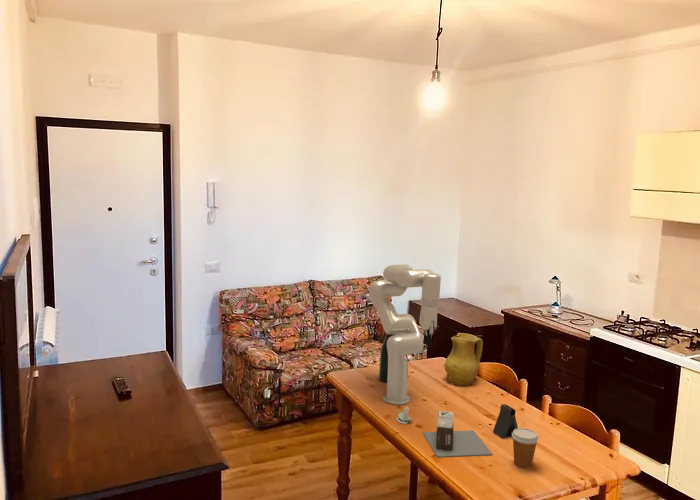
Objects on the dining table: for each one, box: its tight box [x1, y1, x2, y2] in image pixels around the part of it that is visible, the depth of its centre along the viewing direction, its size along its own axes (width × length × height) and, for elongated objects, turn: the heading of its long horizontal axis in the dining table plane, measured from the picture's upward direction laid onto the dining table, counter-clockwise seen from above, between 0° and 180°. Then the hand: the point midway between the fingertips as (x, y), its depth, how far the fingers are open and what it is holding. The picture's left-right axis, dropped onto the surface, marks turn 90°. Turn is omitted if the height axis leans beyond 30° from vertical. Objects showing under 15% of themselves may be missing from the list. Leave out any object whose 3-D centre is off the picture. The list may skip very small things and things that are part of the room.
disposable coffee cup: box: [511, 427, 539, 469], centre depth 206 cm, size 10×10×12 cm
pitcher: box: [443, 332, 484, 387], centre depth 288 cm, size 17×19×25 cm
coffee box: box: [436, 410, 455, 451], centre depth 221 cm, size 9×6×16 cm
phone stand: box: [492, 403, 519, 439], centre depth 231 cm, size 9×6×12 cm, turn 114°
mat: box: [422, 429, 493, 458], centre depth 221 cm, size 20×22×1 cm
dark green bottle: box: [378, 332, 393, 384], centre depth 287 cm, size 10×10×33 cm
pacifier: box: [395, 406, 413, 425], centre depth 240 cm, size 7×6×6 cm
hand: (427, 343), depth 238 cm, fingers closed
